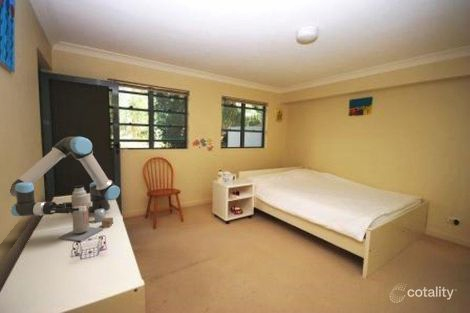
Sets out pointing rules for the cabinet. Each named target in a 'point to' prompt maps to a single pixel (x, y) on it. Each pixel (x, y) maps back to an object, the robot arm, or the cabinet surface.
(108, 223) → the walnut block
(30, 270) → the cabinet surface
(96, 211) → the grey rounded cylinder
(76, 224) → the thermos bottle
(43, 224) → the cabinet surface
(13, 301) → the cabinet surface
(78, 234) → the gray mat
